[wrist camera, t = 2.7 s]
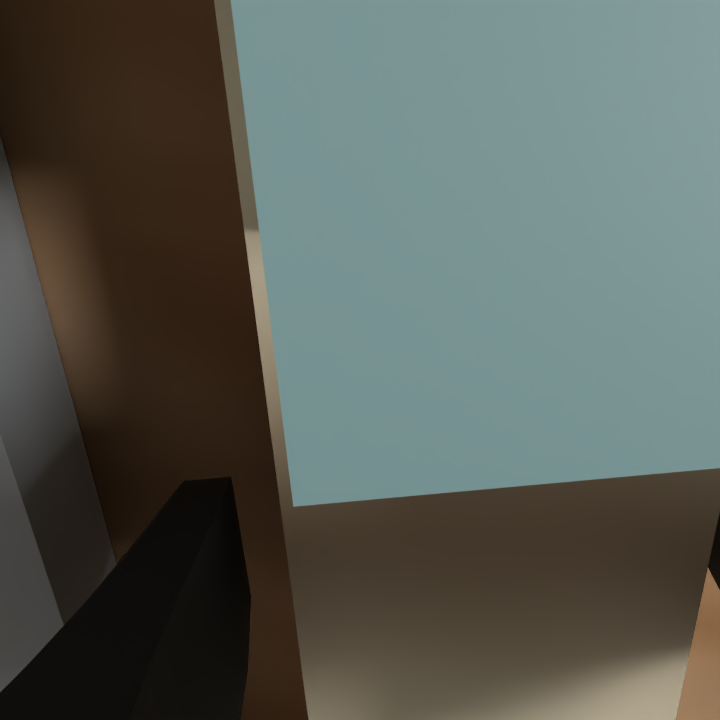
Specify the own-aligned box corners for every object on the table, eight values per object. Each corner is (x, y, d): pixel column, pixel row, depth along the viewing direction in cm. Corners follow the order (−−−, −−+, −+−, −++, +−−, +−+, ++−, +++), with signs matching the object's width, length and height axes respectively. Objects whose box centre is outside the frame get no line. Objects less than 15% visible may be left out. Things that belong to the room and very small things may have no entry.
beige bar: (563, 815, 15) (619, 984, 12) (340, 839, 15) (347, 1016, 12) (713, -454, 7) (998, -800, 4) (193, -436, 6) (109, -792, 4)
